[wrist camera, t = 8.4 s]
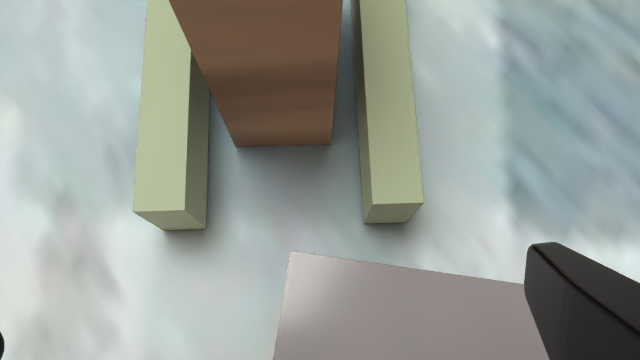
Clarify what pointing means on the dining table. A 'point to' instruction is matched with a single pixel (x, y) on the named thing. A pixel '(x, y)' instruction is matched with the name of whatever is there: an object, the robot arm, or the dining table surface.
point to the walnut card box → (267, 65)
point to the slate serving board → (400, 314)
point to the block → (193, 120)
